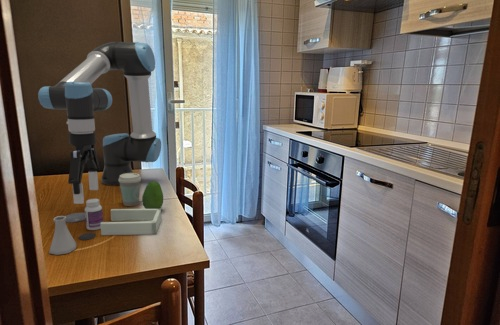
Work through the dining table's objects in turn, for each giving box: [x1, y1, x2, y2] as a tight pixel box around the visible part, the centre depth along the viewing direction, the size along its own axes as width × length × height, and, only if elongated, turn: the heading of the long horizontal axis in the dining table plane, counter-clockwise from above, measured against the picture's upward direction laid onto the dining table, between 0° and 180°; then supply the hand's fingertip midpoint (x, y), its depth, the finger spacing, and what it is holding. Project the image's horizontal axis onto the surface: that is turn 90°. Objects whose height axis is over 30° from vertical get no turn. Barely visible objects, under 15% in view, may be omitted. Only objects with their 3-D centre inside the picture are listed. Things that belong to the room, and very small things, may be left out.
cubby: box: [100, 208, 162, 236], centre depth 113 cm, size 12×17×4 cm
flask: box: [48, 215, 78, 256], centre depth 96 cm, size 7×7×10 cm
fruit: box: [141, 180, 164, 209], centre depth 126 cm, size 8×8×12 cm
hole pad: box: [78, 232, 97, 241], centre depth 105 cm, size 5×5×1 cm
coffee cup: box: [118, 172, 142, 207], centre depth 133 cm, size 8×8×12 cm
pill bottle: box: [84, 198, 104, 231], centre depth 111 cm, size 5×5×10 cm
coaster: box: [65, 212, 86, 224], centre depth 119 cm, size 8×8×1 cm
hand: (86, 196), depth 109 cm, fingers open, 13 cm apart
